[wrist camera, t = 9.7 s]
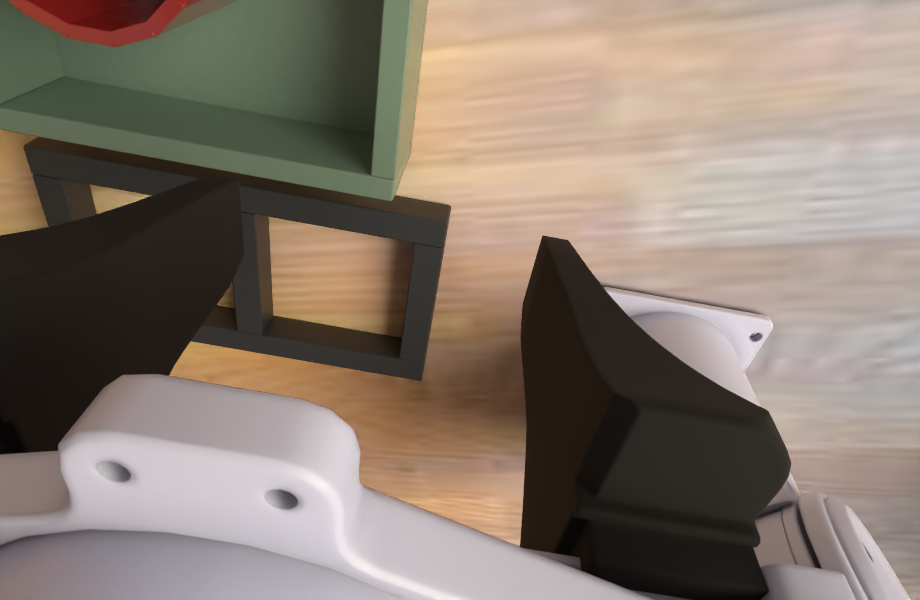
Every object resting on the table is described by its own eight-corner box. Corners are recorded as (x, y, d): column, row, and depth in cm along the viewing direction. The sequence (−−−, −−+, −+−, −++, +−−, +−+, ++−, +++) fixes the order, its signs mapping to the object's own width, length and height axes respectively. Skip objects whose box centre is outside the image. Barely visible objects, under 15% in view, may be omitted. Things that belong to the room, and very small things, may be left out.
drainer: (425, 360, 29) (421, 381, 27) (97, 303, 28) (78, 322, 27) (451, 205, 23) (448, 222, 22) (47, 131, 23) (22, 145, 22)
